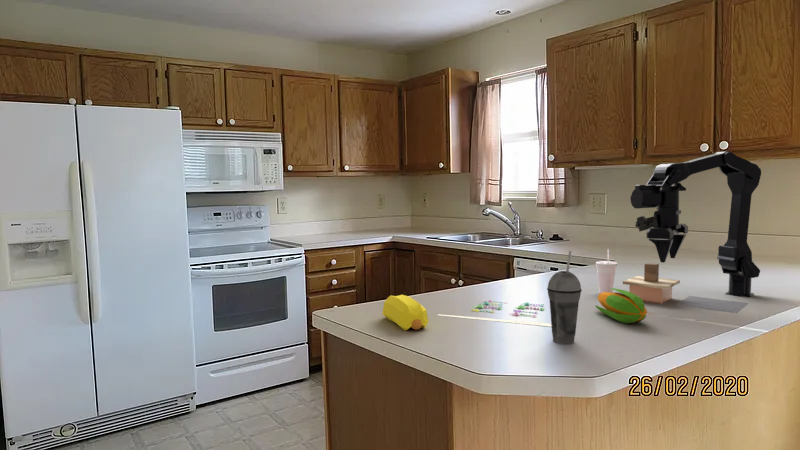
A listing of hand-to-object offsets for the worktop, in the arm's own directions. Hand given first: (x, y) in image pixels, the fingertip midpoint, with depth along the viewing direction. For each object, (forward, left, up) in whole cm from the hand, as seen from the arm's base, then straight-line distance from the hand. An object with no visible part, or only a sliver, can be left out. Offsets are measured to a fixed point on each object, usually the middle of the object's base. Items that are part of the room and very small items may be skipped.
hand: (667, 260), depth 157 cm
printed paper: (+39, -30, -13) cm, 51 cm away
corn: (+30, -3, -12) cm, 32 cm away
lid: (+4, -3, -7) cm, 9 cm away
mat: (0, +12, -12) cm, 17 cm away
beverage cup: (+58, -4, -12) cm, 60 cm away
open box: (+4, -3, -12) cm, 13 cm away
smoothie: (+2, -17, -12) cm, 21 cm away
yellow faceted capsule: (+70, -41, -12) cm, 82 cm away
